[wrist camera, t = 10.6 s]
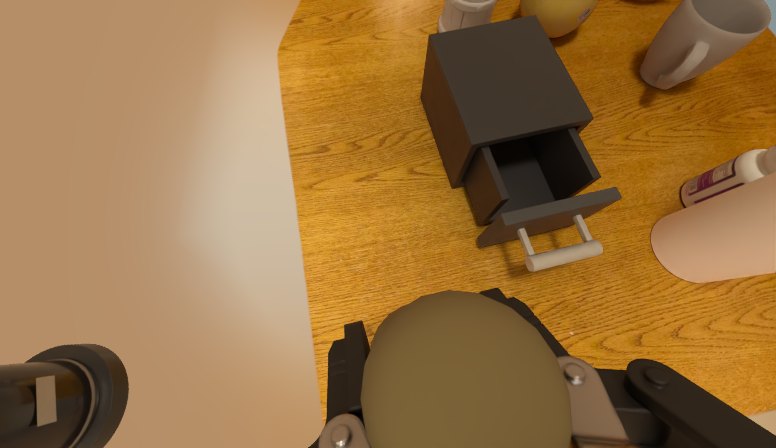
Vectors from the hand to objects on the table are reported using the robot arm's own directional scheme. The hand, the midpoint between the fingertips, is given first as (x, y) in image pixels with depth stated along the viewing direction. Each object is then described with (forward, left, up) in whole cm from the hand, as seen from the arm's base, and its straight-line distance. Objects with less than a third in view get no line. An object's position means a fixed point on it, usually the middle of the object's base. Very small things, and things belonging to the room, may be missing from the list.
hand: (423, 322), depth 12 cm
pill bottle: (+39, +5, -21) cm, 45 cm away
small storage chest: (+16, +21, -21) cm, 34 cm away
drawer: (+16, +11, -20) cm, 28 cm away
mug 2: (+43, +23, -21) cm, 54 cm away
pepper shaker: (0, -2, -5) cm, 6 cm away
